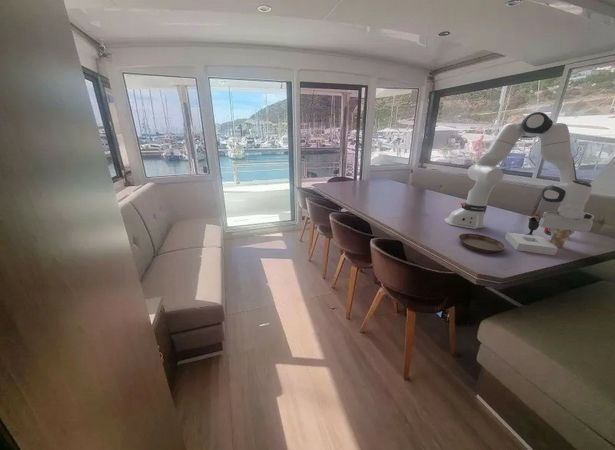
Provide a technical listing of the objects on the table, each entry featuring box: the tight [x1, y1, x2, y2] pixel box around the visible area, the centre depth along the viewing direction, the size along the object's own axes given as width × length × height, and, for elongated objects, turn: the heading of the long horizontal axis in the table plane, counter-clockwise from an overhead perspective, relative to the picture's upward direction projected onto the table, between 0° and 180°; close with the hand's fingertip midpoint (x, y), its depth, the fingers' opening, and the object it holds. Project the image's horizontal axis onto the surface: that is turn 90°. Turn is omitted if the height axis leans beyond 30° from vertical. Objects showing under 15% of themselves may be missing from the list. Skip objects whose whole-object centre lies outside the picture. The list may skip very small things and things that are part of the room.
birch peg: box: [549, 229, 570, 249], centre depth 132 cm, size 4×4×10 cm
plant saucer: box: [458, 233, 505, 254], centre depth 131 cm, size 21×21×3 cm
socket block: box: [504, 231, 559, 256], centre depth 131 cm, size 16×16×4 cm
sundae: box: [525, 211, 542, 235], centre depth 143 cm, size 7×7×15 cm
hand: (559, 236), depth 132 cm, fingers closed on birch peg, 4 cm apart
